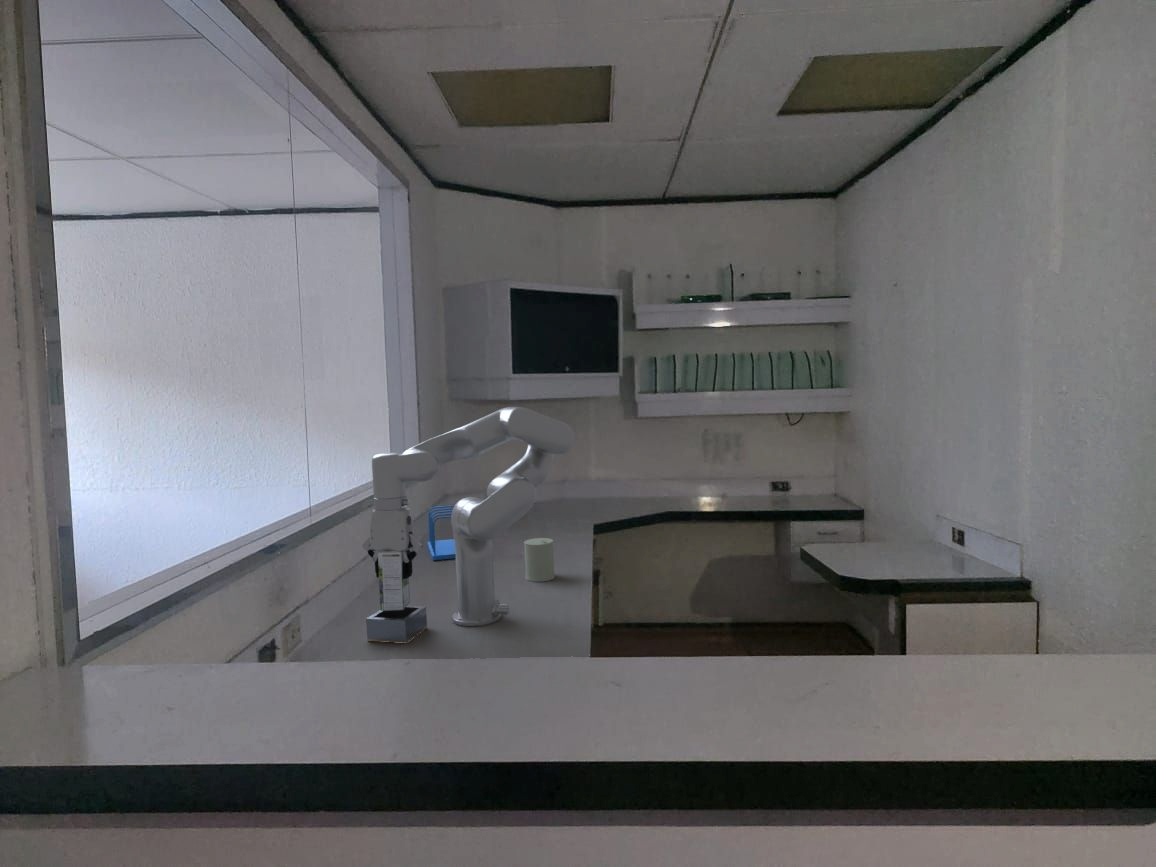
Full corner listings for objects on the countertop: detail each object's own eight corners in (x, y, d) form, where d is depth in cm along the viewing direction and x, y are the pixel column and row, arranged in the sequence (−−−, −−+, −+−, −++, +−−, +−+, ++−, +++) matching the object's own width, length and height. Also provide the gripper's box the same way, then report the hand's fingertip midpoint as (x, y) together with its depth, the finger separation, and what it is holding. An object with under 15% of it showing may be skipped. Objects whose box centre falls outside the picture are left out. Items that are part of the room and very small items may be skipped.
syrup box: (387, 603, 168) (384, 546, 167) (411, 603, 168) (407, 545, 167) (380, 611, 162) (376, 551, 161) (404, 610, 162) (400, 551, 161)
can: (539, 583, 204) (538, 544, 203) (519, 578, 210) (517, 540, 209) (561, 576, 211) (559, 538, 210) (540, 571, 217) (538, 535, 216)
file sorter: (482, 556, 240) (480, 514, 239) (432, 561, 235) (430, 518, 234) (472, 541, 264) (470, 503, 263) (427, 546, 259) (425, 506, 258)
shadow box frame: (427, 628, 169) (425, 606, 169) (406, 644, 159) (405, 620, 159) (390, 626, 172) (388, 604, 171) (367, 641, 162) (366, 618, 161)
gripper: (430, 501, 165) (433, 574, 166) (367, 501, 169) (370, 571, 170) (415, 507, 157) (419, 582, 159) (349, 506, 162) (353, 579, 163)
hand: (394, 576), depth 164 cm, fingers closed on syrup box, 6 cm apart
